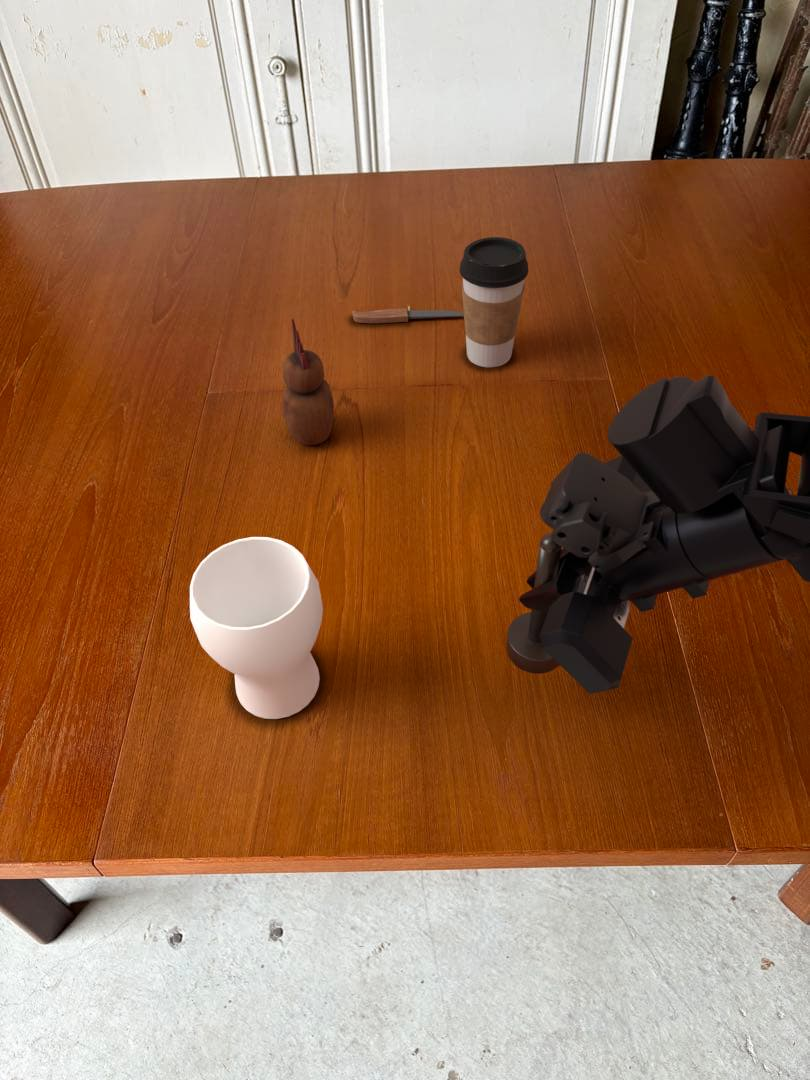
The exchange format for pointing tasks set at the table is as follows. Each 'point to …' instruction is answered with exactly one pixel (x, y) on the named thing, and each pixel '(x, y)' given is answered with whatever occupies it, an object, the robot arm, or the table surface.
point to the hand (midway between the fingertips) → (526, 593)
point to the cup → (260, 622)
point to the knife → (401, 315)
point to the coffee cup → (492, 298)
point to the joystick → (534, 618)
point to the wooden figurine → (306, 395)
